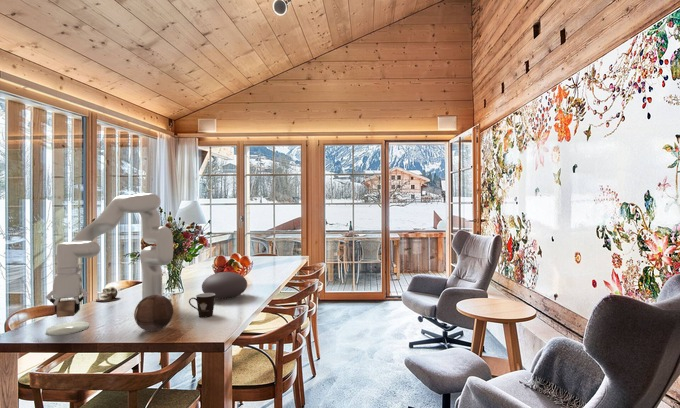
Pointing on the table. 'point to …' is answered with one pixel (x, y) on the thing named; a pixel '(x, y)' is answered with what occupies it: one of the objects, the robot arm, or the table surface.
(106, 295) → the skull
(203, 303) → the coffee mug
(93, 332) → the table surface
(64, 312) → the walnut cube
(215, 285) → the flattened ellipsoid
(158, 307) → the wooden sphere
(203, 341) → the table surface
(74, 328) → the sage plate
